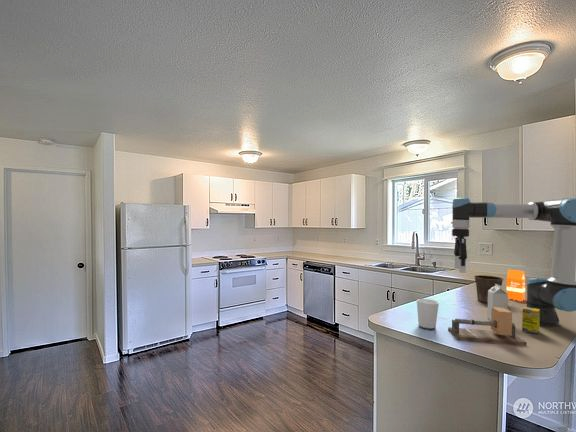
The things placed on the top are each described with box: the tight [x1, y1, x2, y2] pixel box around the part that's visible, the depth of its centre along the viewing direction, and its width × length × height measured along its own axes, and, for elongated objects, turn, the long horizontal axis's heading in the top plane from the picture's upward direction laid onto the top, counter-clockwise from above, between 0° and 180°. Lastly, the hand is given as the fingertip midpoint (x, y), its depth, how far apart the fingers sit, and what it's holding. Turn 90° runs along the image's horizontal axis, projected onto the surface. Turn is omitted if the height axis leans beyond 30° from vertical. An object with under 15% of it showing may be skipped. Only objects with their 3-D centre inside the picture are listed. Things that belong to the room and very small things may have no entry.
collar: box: [490, 307, 513, 336], centre depth 137 cm, size 5×7×10 cm
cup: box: [416, 298, 440, 331], centre depth 149 cm, size 10×10×13 cm
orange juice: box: [506, 269, 526, 302], centre depth 212 cm, size 8×9×20 cm
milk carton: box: [486, 284, 509, 321], centre depth 163 cm, size 7×7×19 cm
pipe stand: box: [447, 318, 527, 347], centre depth 138 cm, size 27×12×8 cm, turn 81°
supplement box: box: [521, 306, 540, 335], centre depth 148 cm, size 6×6×11 cm
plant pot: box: [473, 274, 504, 304], centre depth 203 cm, size 16×16×16 cm
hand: (459, 270), depth 155 cm, fingers open, 13 cm apart
